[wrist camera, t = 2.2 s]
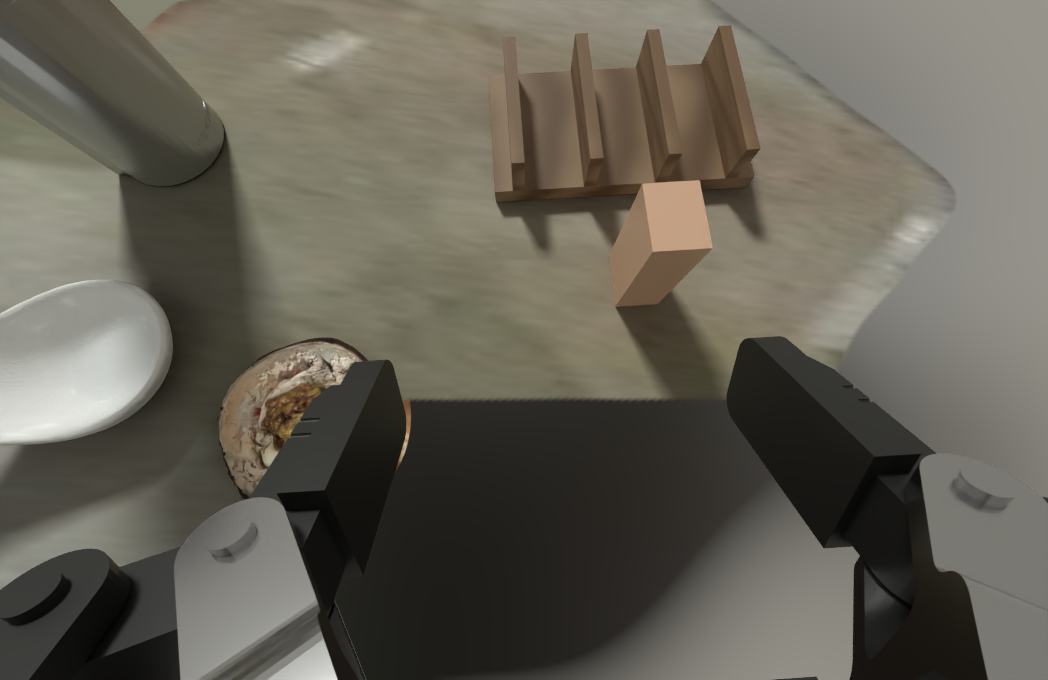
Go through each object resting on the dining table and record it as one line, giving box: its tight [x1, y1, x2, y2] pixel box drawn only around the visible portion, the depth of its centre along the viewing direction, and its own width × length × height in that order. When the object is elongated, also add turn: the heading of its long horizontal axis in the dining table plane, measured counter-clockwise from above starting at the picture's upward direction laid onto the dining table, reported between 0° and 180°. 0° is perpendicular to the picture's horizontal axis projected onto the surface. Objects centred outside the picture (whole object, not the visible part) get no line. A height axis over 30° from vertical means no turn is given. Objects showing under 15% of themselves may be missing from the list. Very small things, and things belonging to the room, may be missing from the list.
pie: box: [217, 338, 411, 500], centre depth 29 cm, size 15×15×4 cm
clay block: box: [609, 180, 713, 307], centre depth 29 cm, size 4×4×10 cm
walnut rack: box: [489, 25, 760, 202], centre depth 35 cm, size 22×12×5 cm, turn 94°
